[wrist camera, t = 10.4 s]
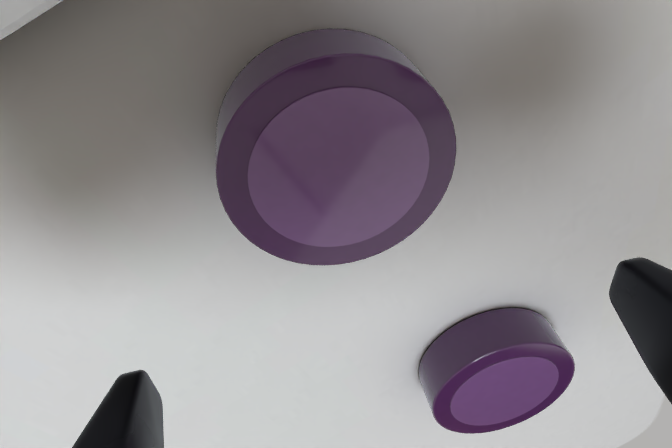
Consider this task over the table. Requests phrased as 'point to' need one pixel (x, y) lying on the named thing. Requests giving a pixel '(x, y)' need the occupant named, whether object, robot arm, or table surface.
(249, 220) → the top dish
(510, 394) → the bottom dish
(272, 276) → the table surface
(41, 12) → the plate
